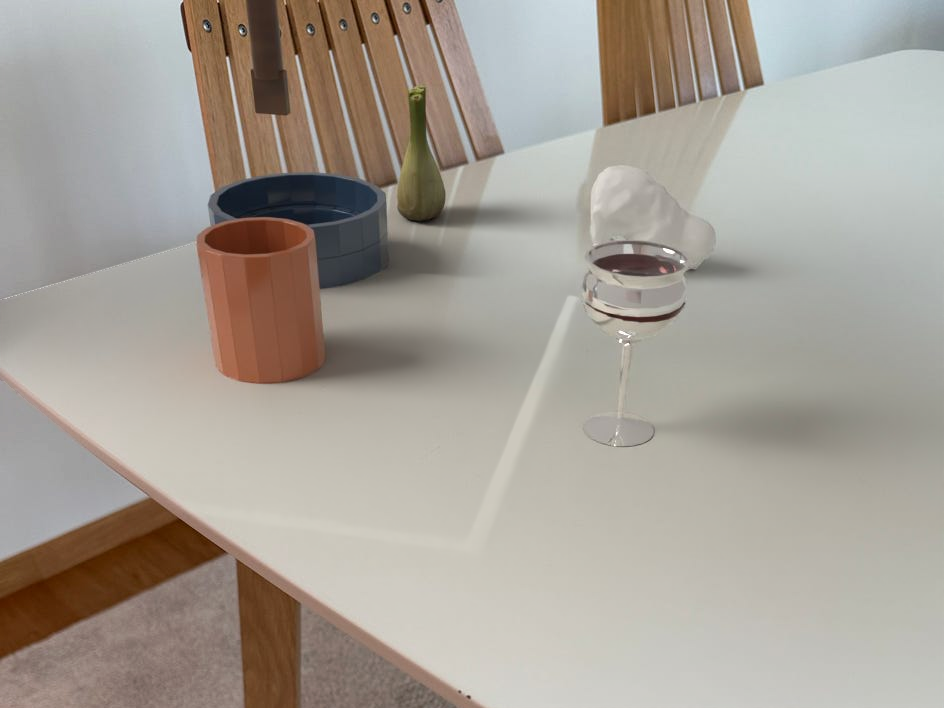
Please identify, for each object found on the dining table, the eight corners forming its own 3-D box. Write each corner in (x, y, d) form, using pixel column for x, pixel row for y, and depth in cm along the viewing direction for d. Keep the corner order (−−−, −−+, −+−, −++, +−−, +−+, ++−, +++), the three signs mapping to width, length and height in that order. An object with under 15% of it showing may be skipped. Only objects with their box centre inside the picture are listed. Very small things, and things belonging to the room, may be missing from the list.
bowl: (189, 288, 92) (178, 218, 88) (256, 230, 104) (249, 166, 100) (359, 306, 89) (354, 235, 86) (408, 244, 101) (406, 179, 97)
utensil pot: (199, 386, 77) (176, 250, 71) (242, 341, 84) (224, 212, 77) (304, 398, 76) (290, 261, 70) (340, 352, 82) (330, 222, 76)
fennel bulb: (415, 205, 110) (412, 79, 103) (456, 213, 109) (456, 85, 101) (387, 221, 106) (381, 91, 99) (429, 229, 105) (427, 97, 97)
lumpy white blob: (598, 153, 95) (729, 174, 94) (582, 246, 100) (705, 267, 100) (593, 173, 90) (731, 195, 90) (577, 270, 96) (706, 292, 95)
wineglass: (583, 400, 77) (597, 234, 69) (674, 414, 75) (699, 246, 67) (559, 443, 72) (572, 269, 64) (657, 460, 70) (682, 284, 62)
